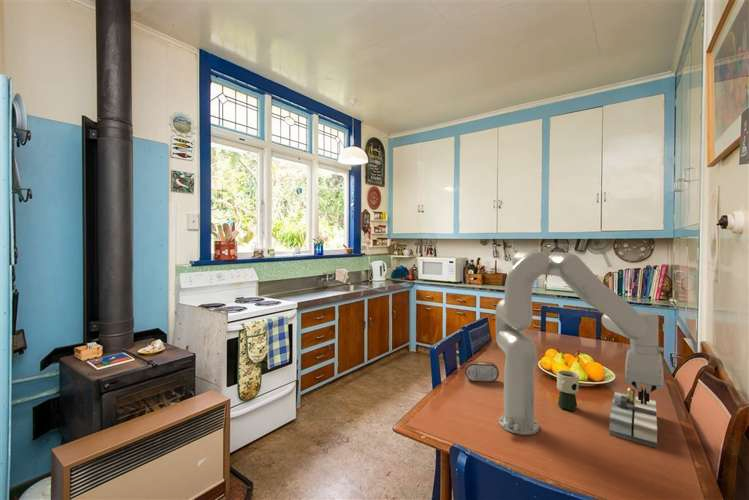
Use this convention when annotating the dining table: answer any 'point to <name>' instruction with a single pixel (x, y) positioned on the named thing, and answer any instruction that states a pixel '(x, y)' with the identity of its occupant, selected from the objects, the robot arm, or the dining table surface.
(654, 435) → the lock board
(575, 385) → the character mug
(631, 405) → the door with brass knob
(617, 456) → the dining table surface
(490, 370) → the tin
